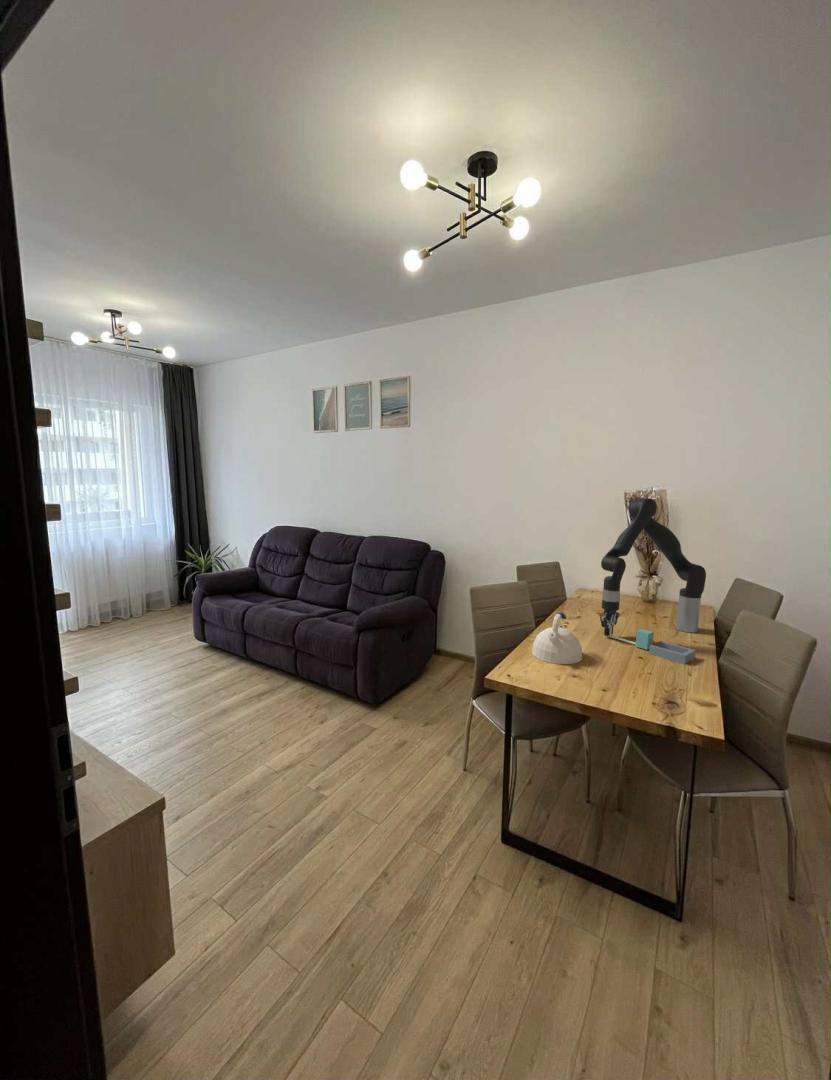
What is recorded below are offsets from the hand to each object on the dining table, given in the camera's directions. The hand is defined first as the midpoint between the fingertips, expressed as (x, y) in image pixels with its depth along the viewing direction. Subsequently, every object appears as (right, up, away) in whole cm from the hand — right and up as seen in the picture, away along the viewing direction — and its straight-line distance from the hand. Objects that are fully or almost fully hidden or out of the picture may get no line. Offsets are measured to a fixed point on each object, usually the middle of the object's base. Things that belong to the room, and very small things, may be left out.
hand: (608, 634), depth 210 cm
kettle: (-31, -4, -21) cm, 38 cm away
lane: (+17, -4, -22) cm, 28 cm away
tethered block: (+5, -2, -7) cm, 9 cm away
